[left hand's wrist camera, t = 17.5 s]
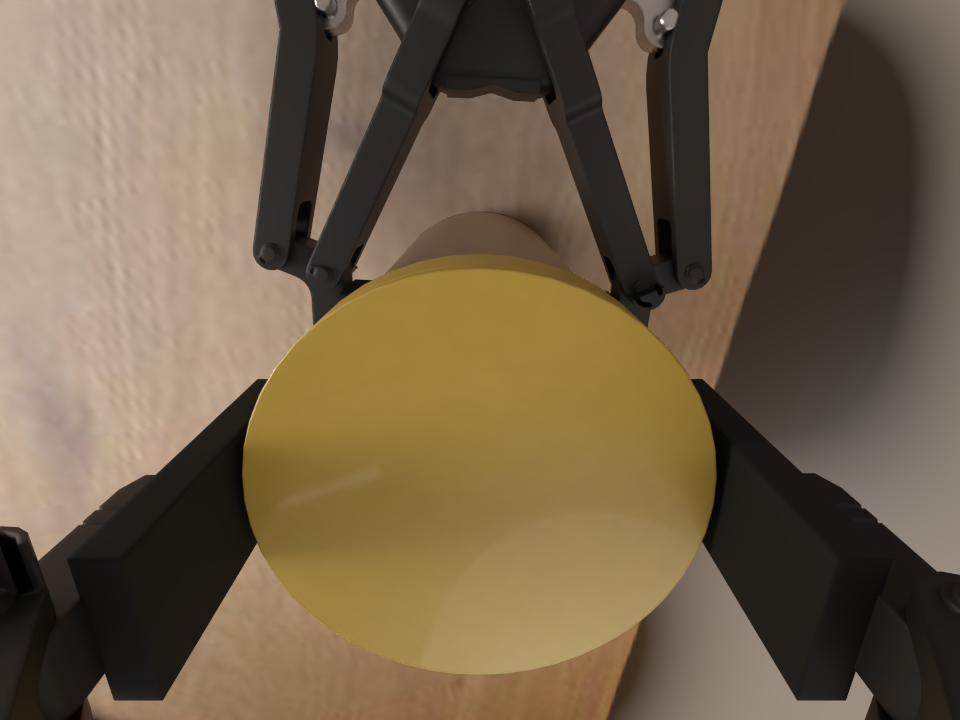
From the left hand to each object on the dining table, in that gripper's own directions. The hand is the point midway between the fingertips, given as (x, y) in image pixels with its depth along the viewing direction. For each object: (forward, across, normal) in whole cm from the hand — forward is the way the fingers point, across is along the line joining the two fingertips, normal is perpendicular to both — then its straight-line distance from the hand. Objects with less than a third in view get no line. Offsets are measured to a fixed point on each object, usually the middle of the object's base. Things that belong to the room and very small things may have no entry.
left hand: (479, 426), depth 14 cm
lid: (-3, 0, 0) cm, 3 cm away
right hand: (+7, 0, -5) cm, 9 cm away
